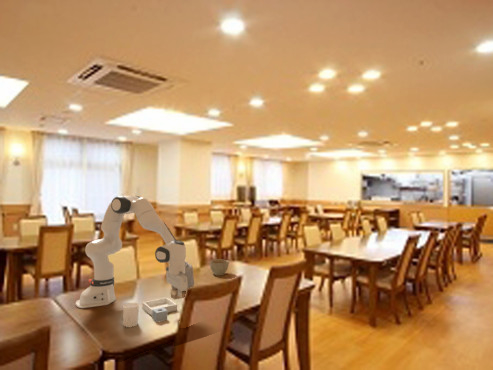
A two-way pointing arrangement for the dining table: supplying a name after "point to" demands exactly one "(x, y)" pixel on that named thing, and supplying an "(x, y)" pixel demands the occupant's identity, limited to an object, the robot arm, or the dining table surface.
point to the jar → (189, 274)
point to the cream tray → (159, 305)
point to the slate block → (159, 314)
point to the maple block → (175, 294)
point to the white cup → (130, 314)
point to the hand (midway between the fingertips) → (176, 294)
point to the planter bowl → (219, 266)
